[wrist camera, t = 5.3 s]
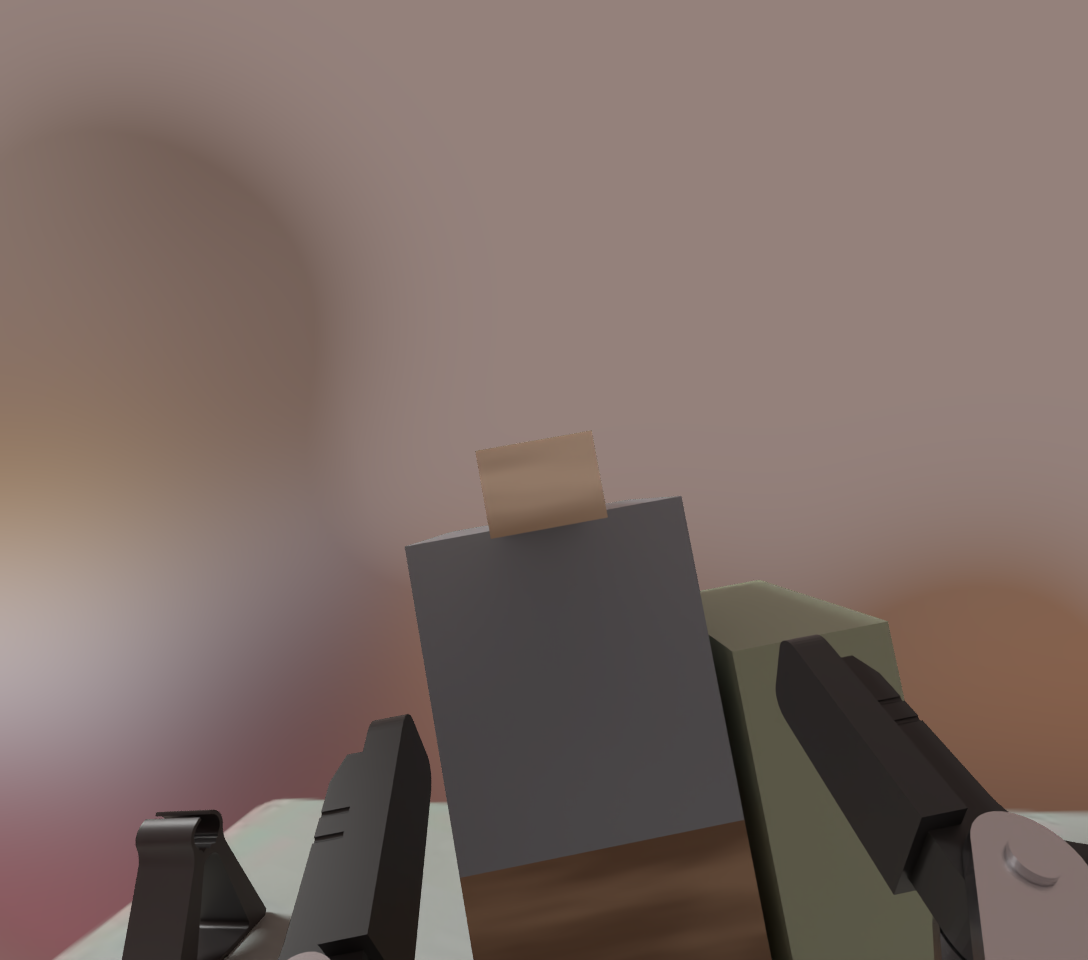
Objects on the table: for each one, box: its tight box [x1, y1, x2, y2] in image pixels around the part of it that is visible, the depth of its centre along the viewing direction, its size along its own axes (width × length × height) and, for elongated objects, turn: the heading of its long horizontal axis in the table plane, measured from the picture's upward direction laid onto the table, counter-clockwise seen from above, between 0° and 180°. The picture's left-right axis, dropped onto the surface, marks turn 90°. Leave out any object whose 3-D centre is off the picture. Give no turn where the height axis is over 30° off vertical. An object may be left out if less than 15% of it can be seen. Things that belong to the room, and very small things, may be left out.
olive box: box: [700, 580, 934, 960], centre depth 31 cm, size 14×8×24 cm, turn 1°
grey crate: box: [405, 496, 744, 878], centre depth 31 cm, size 14×14×16 cm
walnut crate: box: [460, 820, 772, 960], centre depth 30 cm, size 14×14×16 cm
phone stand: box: [122, 810, 266, 960], centre depth 43 cm, size 9×6×12 cm, turn 166°
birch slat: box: [475, 431, 608, 539], centre depth 27 cm, size 20×4×3 cm, turn 1°
